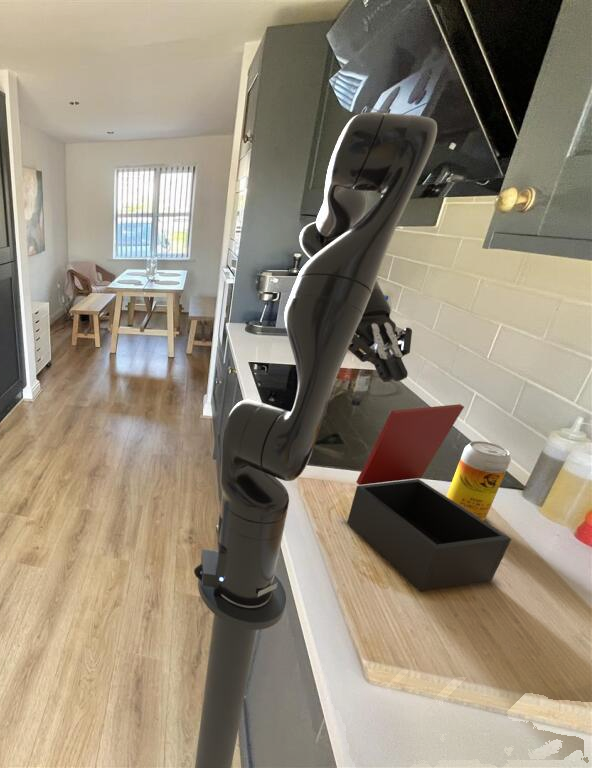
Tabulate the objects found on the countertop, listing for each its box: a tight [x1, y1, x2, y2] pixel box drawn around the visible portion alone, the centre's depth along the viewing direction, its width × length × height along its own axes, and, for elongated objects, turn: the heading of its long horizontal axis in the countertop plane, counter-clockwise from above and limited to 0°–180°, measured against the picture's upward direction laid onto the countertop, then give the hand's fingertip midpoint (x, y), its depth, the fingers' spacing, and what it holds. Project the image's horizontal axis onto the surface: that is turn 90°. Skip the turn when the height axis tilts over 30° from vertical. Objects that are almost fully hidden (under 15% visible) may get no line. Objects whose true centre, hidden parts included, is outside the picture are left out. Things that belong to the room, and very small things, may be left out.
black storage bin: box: [346, 478, 512, 593], centre depth 68 cm, size 16×13×9 cm
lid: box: [355, 403, 465, 486], centre depth 69 cm, size 16×13×1 cm
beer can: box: [445, 440, 512, 522], centre depth 75 cm, size 6×6×15 cm
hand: (395, 379), depth 71 cm, fingers closed
